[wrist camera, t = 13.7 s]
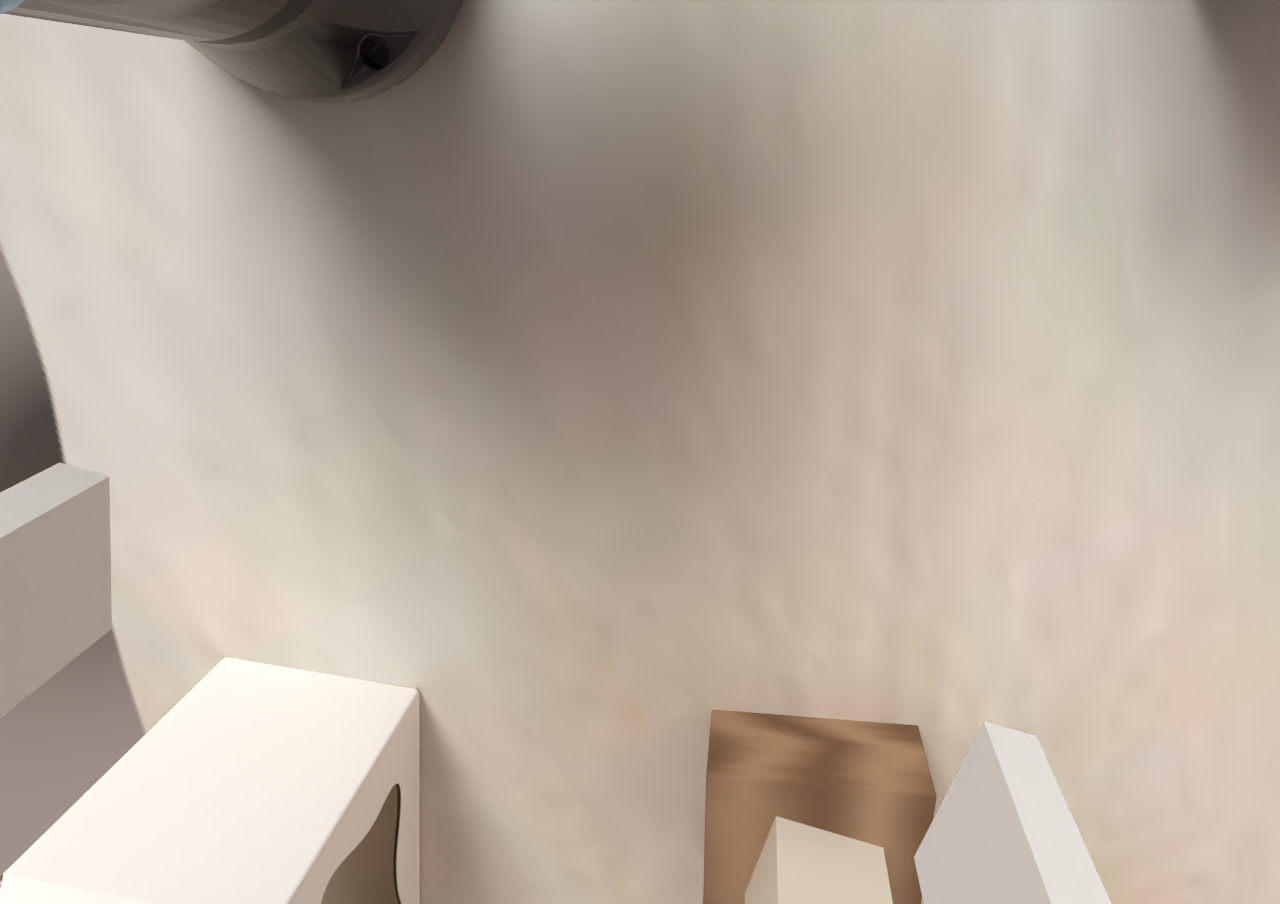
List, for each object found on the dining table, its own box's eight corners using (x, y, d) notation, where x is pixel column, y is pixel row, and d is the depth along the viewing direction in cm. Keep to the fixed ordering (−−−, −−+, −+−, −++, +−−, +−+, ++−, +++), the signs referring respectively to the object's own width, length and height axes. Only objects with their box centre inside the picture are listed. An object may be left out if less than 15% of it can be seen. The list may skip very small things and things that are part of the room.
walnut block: (708, 857, 55) (702, 938, 50) (712, 706, 51) (706, 776, 46) (896, 876, 54) (912, 962, 48) (916, 722, 50) (936, 796, 44)
